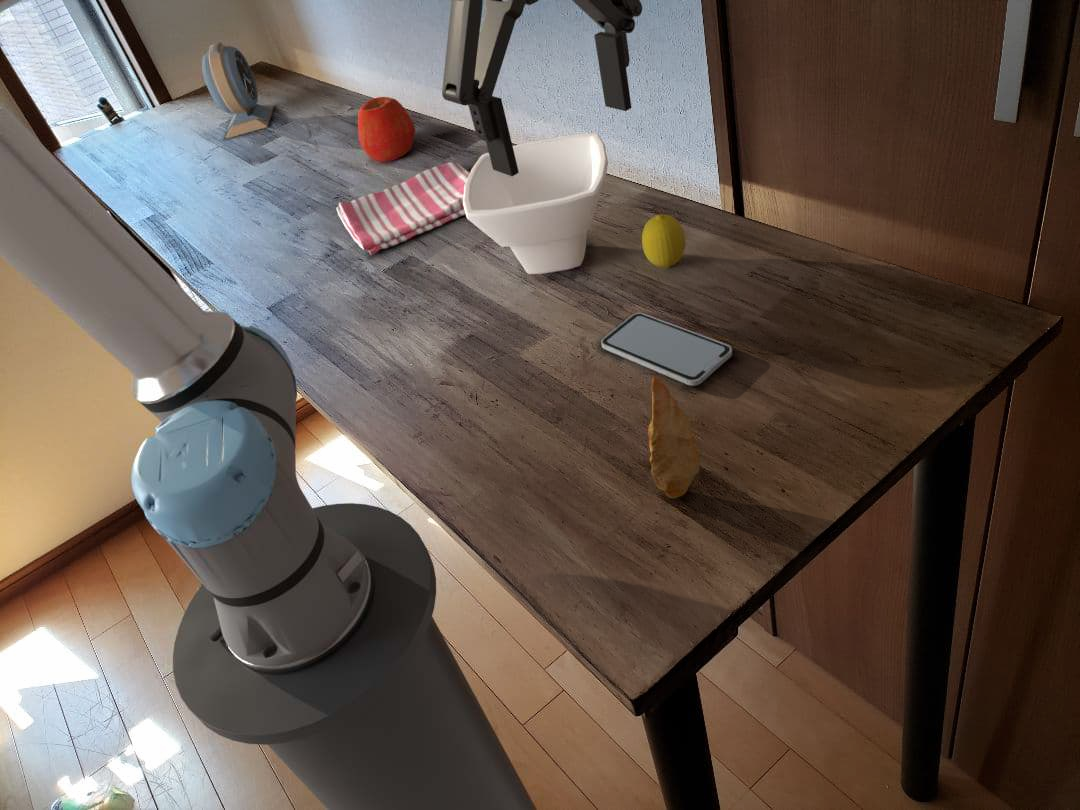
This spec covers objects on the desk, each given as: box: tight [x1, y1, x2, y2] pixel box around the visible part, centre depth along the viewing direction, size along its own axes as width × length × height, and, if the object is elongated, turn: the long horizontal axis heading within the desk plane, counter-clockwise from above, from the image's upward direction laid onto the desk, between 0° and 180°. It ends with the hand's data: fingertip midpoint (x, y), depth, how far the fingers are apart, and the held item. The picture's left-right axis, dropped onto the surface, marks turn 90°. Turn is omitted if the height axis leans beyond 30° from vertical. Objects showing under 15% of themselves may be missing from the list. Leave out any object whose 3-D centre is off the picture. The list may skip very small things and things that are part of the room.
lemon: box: [641, 213, 686, 269], centre depth 109 cm, size 6×6×8 cm
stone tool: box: [647, 375, 701, 500], centre depth 78 cm, size 5×2×15 cm, turn 132°
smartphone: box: [600, 312, 733, 387], centre depth 99 cm, size 7×1×15 cm
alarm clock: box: [201, 42, 274, 140], centre depth 187 cm, size 14×10×18 cm
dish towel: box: [336, 161, 470, 256], centre depth 139 cm, size 17×23×4 cm
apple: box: [357, 96, 416, 163], centre depth 157 cm, size 11×11×11 cm
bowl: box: [463, 132, 609, 275], centre depth 115 cm, size 19×19×14 cm
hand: (564, 138), depth 75 cm, fingers open, 13 cm apart
